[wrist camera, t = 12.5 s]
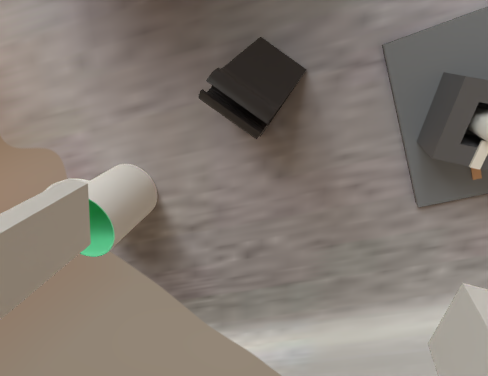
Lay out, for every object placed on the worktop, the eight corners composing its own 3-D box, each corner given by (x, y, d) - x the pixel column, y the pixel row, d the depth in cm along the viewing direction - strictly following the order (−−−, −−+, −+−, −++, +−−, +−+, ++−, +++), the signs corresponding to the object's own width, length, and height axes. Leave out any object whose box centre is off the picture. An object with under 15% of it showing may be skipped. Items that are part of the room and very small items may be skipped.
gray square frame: (443, 72, 32) (467, 76, 26) (523, 86, 31) (565, 94, 25) (416, 141, 35) (432, 159, 29) (488, 157, 34) (519, 178, 28)
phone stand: (261, 36, 35) (232, 33, 25) (307, 69, 36) (297, 81, 25) (219, 106, 39) (178, 129, 29) (260, 136, 40) (235, 170, 29)
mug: (82, 200, 50) (25, 236, 41) (80, 150, 47) (18, 177, 37) (155, 222, 48) (114, 264, 39) (159, 172, 45) (114, 205, 36)
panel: (382, 45, 33) (396, 45, 26) (526, -8, 29) (590, -25, 22) (416, 203, 38) (436, 240, 31) (542, 177, 34) (597, 212, 27)
